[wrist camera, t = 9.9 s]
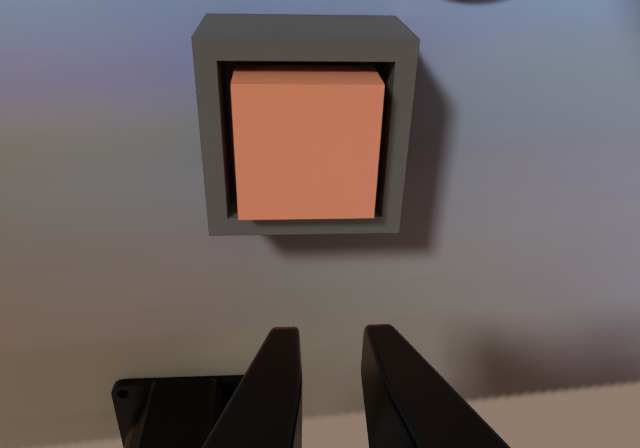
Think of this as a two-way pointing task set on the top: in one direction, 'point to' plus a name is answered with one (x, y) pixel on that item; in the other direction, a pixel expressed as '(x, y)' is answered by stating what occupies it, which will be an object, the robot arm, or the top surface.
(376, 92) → the button
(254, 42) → the button housing
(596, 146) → the top surface
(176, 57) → the top surface
